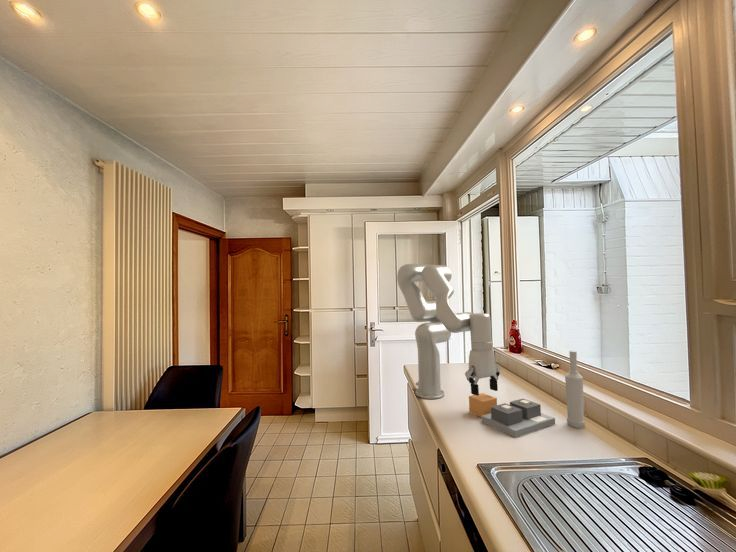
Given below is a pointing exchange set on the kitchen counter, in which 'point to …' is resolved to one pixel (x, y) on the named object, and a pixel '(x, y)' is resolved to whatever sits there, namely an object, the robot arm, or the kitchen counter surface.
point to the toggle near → (506, 407)
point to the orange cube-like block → (481, 404)
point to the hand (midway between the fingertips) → (484, 392)
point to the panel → (523, 425)
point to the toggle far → (524, 402)
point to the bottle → (574, 394)
